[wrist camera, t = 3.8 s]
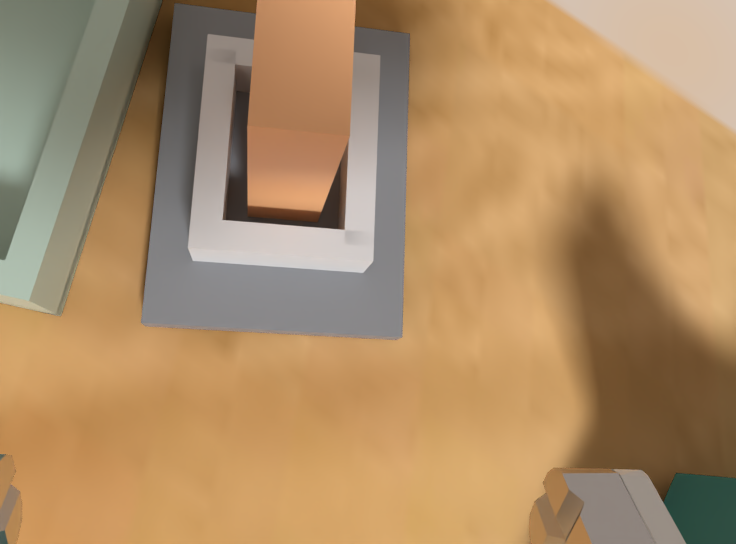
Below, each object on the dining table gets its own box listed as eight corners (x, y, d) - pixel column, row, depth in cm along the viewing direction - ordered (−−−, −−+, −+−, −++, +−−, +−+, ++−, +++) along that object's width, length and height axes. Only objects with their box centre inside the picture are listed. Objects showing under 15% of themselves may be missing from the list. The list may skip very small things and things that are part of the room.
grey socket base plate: (145, 326, 23) (131, 315, 21) (177, 17, 26) (168, -31, 23) (396, 339, 25) (415, 331, 22) (404, 46, 27) (422, 4, 24)
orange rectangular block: (247, 216, 24) (247, 125, 16) (255, 112, 25) (258, -22, 17) (317, 222, 24) (349, 136, 17) (323, 119, 25) (356, -9, 17)
